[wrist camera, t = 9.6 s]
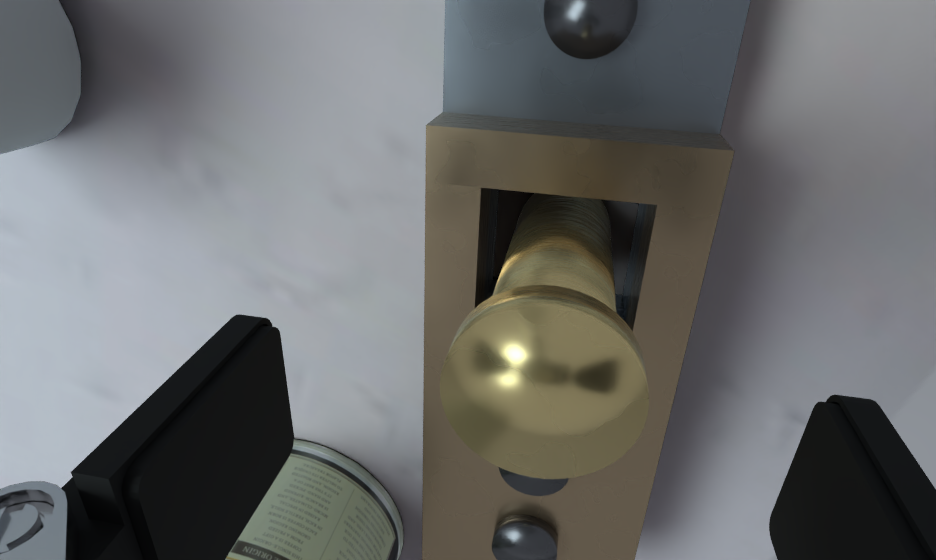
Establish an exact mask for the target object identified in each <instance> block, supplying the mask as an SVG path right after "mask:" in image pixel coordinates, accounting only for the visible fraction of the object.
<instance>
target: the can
mask: <svg viewBox="0 0 936 560" xmlns="http://www.w3.org/2000/svg"><path fill="white" fill-rule="evenodd" d="M80 95H81V60H80V54H79V50H78V46H77V42H76V38H75V34H74V30H73V27H72V25H71V23H70V21H69V19H68V17H67V15H66V14H65V12H64V10H63V8H62V6H61V4H60V2H59V0H0V154H3V153H7V152H10V151H14V150H18V149H21V148H25V147H29V146H33V145H35V144H38V143H41V142H44V141H47V140H50V139H53V138H55V137H56V136H57V135H58V134H59V133H60V132H61V131H62V130H63V129H64V128H65V127H66V126H67V125H68V124H69V123H70V122H71V120H72V118H73V115H74V112H75V109H76V107H77V104H78V101H79V98H80Z"/></svg>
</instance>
